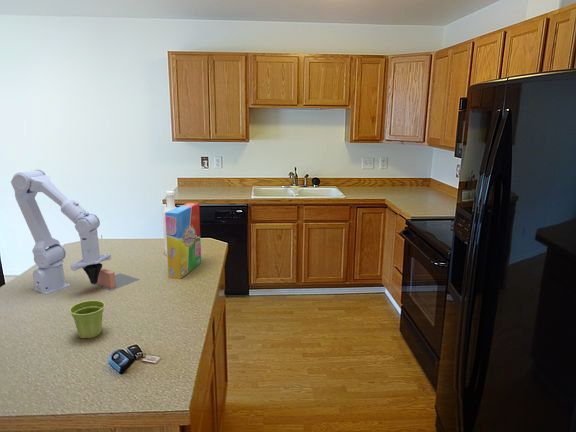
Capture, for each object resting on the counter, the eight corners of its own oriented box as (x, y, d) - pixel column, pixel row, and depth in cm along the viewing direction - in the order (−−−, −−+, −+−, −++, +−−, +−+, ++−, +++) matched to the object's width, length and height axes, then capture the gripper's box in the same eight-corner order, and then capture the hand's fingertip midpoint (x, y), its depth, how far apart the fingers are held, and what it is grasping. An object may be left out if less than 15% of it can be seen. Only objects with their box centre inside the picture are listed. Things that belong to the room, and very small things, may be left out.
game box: (180, 279, 160) (177, 213, 154) (168, 278, 161) (163, 212, 155) (201, 262, 180) (199, 202, 174) (190, 261, 181) (187, 202, 175)
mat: (110, 291, 148) (110, 290, 148) (91, 284, 154) (91, 283, 154) (139, 280, 159) (139, 279, 159) (120, 273, 165) (120, 273, 165)
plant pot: (98, 322, 126) (95, 297, 124) (113, 332, 120) (110, 306, 118) (67, 334, 119) (63, 307, 117) (81, 345, 113) (78, 317, 111)
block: (111, 288, 150) (109, 273, 149) (96, 283, 155) (94, 269, 153) (115, 287, 152) (114, 272, 150) (101, 281, 156) (99, 267, 155)
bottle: (164, 251, 193) (160, 190, 186) (181, 250, 196) (178, 189, 189) (165, 257, 186) (161, 193, 179) (182, 255, 188) (179, 192, 181)
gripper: (77, 255, 137) (81, 292, 141) (114, 244, 149) (118, 278, 153) (65, 251, 141) (70, 287, 144) (103, 241, 153) (106, 275, 156)
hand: (94, 283), depth 149 cm, fingers closed
